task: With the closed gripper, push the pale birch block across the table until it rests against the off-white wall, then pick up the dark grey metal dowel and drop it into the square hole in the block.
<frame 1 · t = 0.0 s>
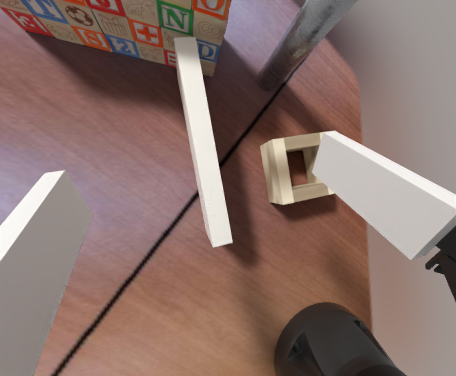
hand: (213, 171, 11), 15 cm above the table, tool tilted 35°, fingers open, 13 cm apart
stack of blocks: (131, 33, 24), on the table
hole block: (290, 169, 28), on the table
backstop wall: (199, 155, 25), on the table
dowel: (269, 79, 27), on the table
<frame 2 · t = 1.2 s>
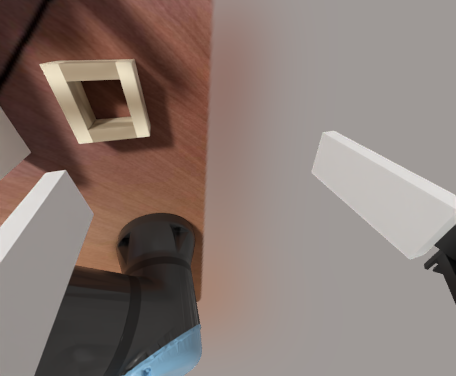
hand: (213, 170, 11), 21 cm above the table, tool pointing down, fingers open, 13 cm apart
hole block: (109, 97, 25), on the table
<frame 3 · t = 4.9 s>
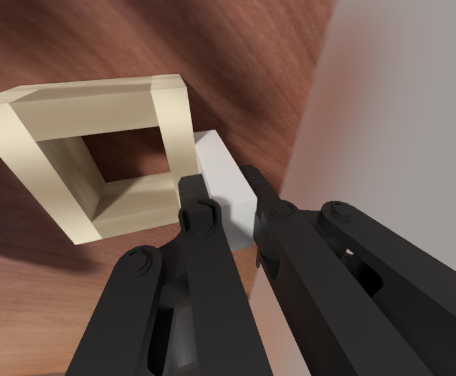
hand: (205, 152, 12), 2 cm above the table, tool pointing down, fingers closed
hole block: (130, 146, 13), on the table, touching gripper
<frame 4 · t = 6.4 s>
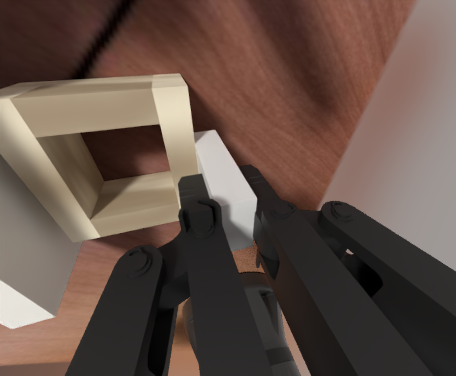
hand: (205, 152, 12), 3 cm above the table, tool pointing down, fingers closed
hole block: (129, 144, 13), on the table, touching gripper
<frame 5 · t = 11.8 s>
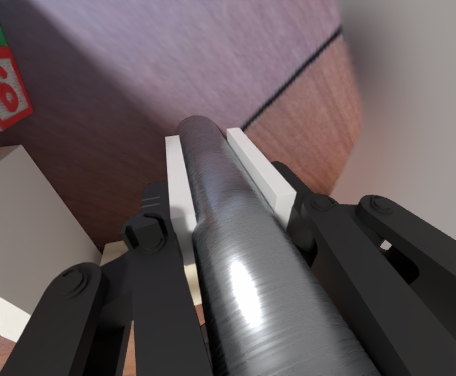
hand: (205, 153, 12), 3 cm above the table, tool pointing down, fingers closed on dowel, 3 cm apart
hole block: (160, 258, 21), on the table
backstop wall: (83, 249, 17), on the table
dowel: (197, 137, 14), on the table, touching gripper
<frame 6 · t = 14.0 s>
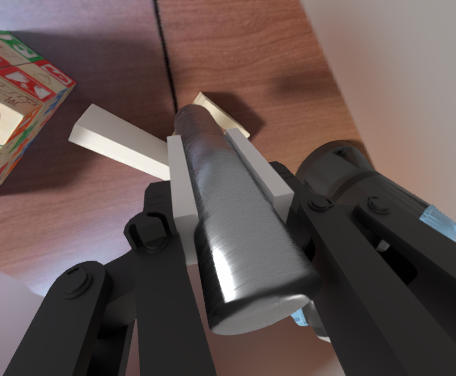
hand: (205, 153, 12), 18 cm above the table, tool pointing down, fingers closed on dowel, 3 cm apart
hole block: (206, 131, 30), on the table
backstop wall: (164, 148, 30), on the table
dowel: (194, 124, 16), point 13 cm above the table, touching gripper
when the fingers open (5 cm above the table, at t = 16.6 s): dowel stays where it is, resting in hole block.
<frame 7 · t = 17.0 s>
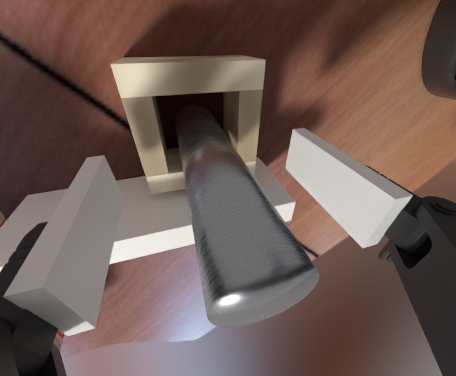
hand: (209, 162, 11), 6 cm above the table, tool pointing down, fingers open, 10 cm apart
hole block: (193, 116, 16), on the table
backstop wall: (158, 182, 18), on the table
dowel: (195, 125, 16), resting in hole block
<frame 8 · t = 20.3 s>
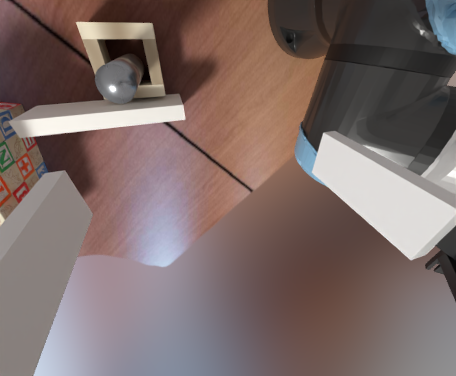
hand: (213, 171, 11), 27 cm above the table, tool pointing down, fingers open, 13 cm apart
stack of blocks: (25, 167, 32), on the table
hole block: (130, 61, 28), on the table
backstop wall: (115, 106, 30), on the table
dowel: (132, 66, 28), resting in hole block
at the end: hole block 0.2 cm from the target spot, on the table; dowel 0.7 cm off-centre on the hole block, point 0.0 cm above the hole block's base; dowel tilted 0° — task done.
